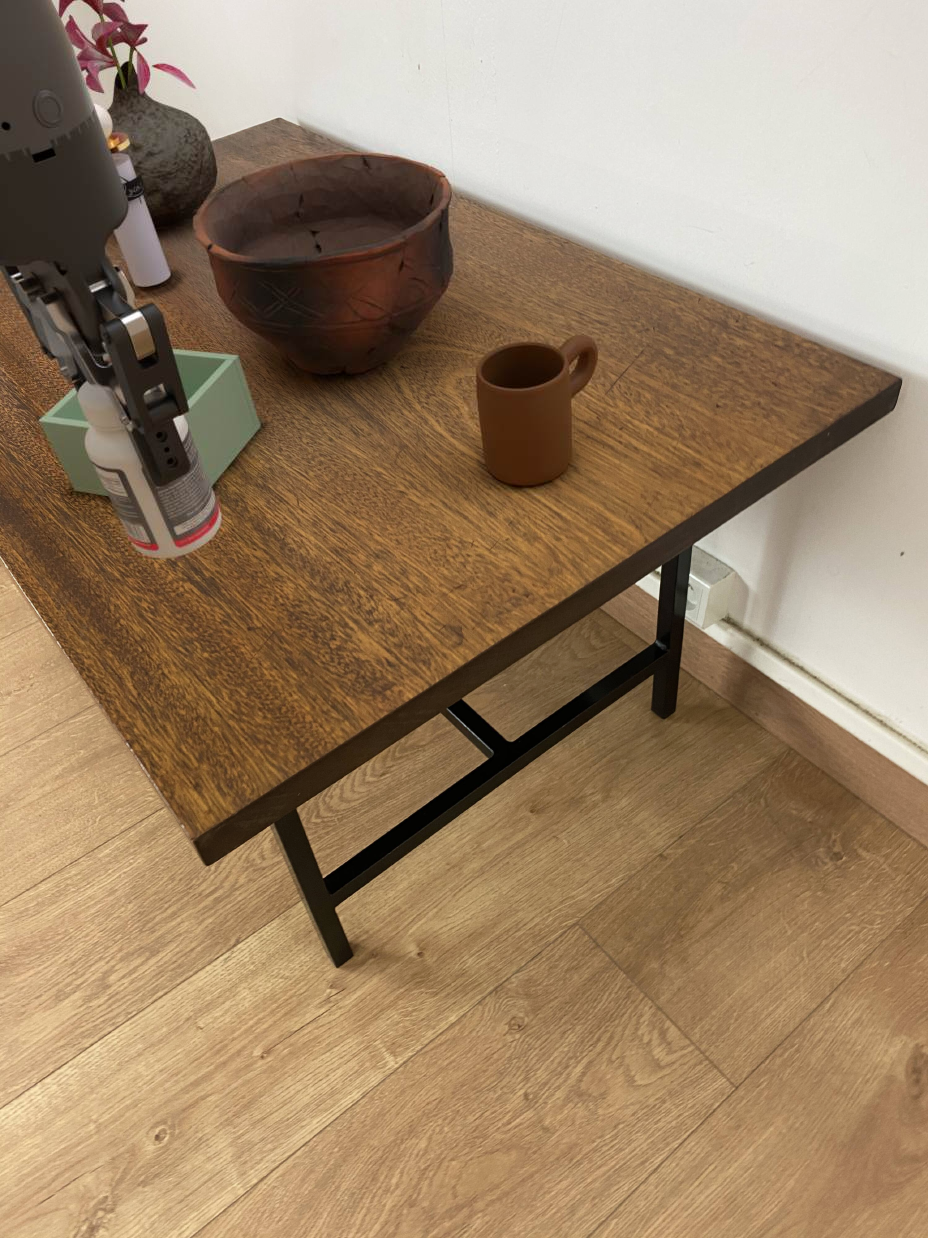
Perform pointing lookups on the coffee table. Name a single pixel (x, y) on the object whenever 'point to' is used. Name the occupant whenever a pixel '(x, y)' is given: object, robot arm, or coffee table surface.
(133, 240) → the perfume bottle
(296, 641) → the coffee table surface
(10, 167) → the robot arm
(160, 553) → the pill bottle
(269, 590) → the coffee table surface
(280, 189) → the bowl
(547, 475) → the mug
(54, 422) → the bin
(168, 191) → the vase
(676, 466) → the coffee table surface
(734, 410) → the coffee table surface
